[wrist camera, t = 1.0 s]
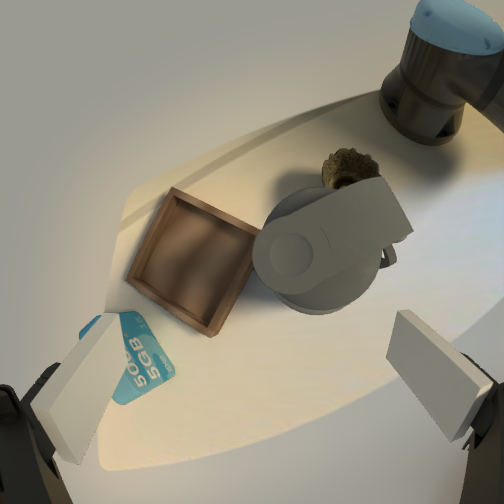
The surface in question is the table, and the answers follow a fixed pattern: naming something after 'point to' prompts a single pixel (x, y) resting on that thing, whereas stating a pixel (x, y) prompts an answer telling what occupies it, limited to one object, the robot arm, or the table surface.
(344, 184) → the cup
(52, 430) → the robot arm
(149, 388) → the data package
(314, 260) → the water bottle
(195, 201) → the walnut tray
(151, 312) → the table surface
